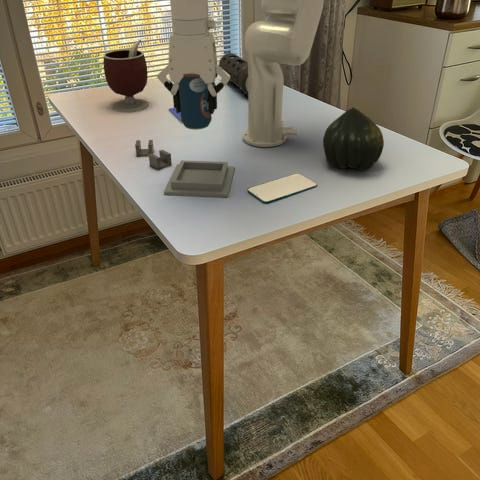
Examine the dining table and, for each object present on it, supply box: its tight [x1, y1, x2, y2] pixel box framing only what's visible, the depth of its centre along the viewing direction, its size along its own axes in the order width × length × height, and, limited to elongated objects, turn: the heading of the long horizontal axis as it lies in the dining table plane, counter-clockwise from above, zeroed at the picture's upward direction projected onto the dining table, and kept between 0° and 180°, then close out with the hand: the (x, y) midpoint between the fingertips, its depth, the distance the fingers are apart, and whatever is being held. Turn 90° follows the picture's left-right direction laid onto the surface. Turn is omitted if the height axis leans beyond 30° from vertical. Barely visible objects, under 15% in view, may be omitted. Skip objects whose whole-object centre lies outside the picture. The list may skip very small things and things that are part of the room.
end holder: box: [163, 160, 236, 198], centre depth 118 cm, size 15×15×3 cm
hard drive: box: [168, 107, 183, 124], centre depth 157 cm, size 2×8×12 cm
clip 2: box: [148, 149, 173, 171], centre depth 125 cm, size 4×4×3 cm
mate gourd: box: [102, 39, 150, 113], centre depth 160 cm, size 16×14×20 cm
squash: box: [322, 106, 385, 171], centre depth 123 cm, size 14×15×15 cm
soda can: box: [179, 75, 213, 131], centre depth 107 cm, size 7×7×12 cm
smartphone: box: [247, 173, 318, 205], centre depth 115 cm, size 8×1×16 cm
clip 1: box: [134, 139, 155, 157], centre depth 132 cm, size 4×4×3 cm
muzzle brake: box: [218, 52, 248, 96], centre depth 178 cm, size 10×28×10 cm, turn 21°
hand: (195, 110), depth 109 cm, fingers closed on soda can, 6 cm apart
